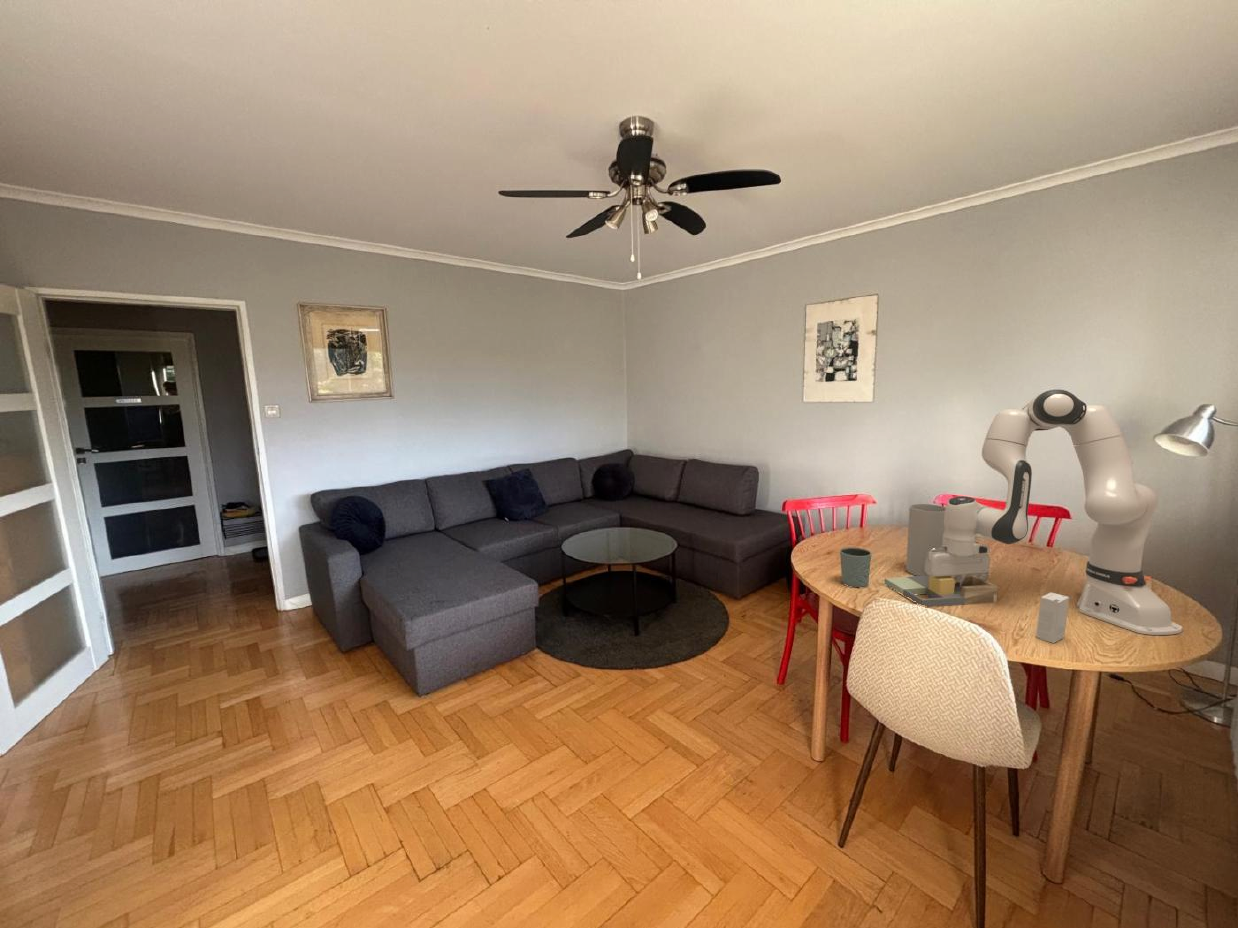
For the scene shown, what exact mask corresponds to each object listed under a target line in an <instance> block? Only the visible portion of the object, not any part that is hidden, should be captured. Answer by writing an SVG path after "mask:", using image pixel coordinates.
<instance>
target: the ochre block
mask: <svg viewBox="0 0 1238 928" xmlns="http://www.w3.org/2000/svg"><path fill="white" fill-rule="evenodd" d="M954 585H955V579H953V578H951V577H949V576H938V577H932V576H930V575H929V590H931V591H933V592H935V593H937V594H938V595H948V594H954Z"/></svg>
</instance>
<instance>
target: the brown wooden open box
mask: <svg viewBox="0 0 1238 928" xmlns="http://www.w3.org/2000/svg"><path fill="white" fill-rule="evenodd" d="M957 577H958V576H957V575H955V578H954V579H955V581H956V579H957ZM971 584H972V585H974V586H963V587H962V593H961V596H963V597H965V601H966V600H967V599H969V598H970V599H971V600H967V601H966V602H967V604H966V602H965V604H964V605H972V604H973V603H974V604H975V605H977V604H987V603H988V604H989V603H997V598H998V585H996V584H994V583H991V582H989V581H988V580H985V579H983V578H980V577H978V576H976V575H975V574H967V575H966V577H965V579H964V580H963V582H962V584H961V585H971ZM979 596H980V597H979ZM984 596H985V597H984ZM988 596H989V597H988ZM991 596H992V597H991ZM974 597H975V598H974ZM977 598H978V599H979V600H978V599H977ZM982 598H983V600H982ZM985 598H986V599H987V598H989V600H988V599H987V600H988V601H989V602H988V601H987V600H985ZM995 598H996V599H995ZM974 599H976V600H975V601H976V602H973V601H974ZM980 599H981V601H982V602H981V601H980ZM990 599H991V600H990ZM993 599H994V600H993ZM972 600H973V601H972ZM992 600H993V601H992ZM985 602H986V603H985Z"/></svg>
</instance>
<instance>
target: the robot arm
mask: <svg viewBox="0 0 1238 928" xmlns="http://www.w3.org/2000/svg"><path fill="white" fill-rule="evenodd" d="M1058 427H1059V428H1062V429H1063V430H1064V431H1066V432H1067V433H1068V435H1069V436H1070V438H1071V441H1072V445H1073V448H1074V450H1075V453H1076V456H1077V459H1078V461H1079V464H1080V466H1081V471H1082V475H1083V485H1084V486H1083V487H1084V493H1085V501H1084V511H1085V513H1086V515H1087V516H1088V517H1089V518H1090V519H1091V520H1093V521H1094V522H1097V526H1096V529H1095V531H1094V533H1093V534H1092V536H1091V538H1090V547H1089V558H1088V560H1087V562H1086V566H1085V574H1086V578H1085V583H1084V586H1083V588H1082V589H1083V590H1082V592H1081V595H1080V597H1079V598H1078V601H1077V602H1076V606H1077V607H1078V613H1081V614H1084V615H1087V616H1088V617H1089V616H1090V617H1091V618H1094V619H1098V620H1100V621H1103V622H1106V623H1109V624H1112V625H1113V626H1117V627H1120V628H1122V629H1126V630H1128V631H1132V632H1134V633H1138V634H1142V635H1152V636H1166V635H1177V634H1180V633H1182V632H1183V626H1182V625H1180V624H1178V623H1176V622H1174V621H1172V612H1171V608H1170V607H1169V605H1168V604H1167V603H1166V602H1165V601H1164V600H1163V599H1162V598H1160V597H1159V595H1157V594H1156V593H1155V592H1154V591H1153V590H1152V589H1151V588H1150V587H1149V586H1148V585H1147V582H1148V581H1151V578H1152V576H1145V574H1144V573H1143V570H1142V569H1141V568H1142V561H1143V554H1144V546H1145V543H1146V539H1147V536H1148V534H1149V531H1150V528H1151V525H1152V520H1153V517H1154V513H1155V510H1156V508H1157V506H1158V504H1159V502H1158V501H1159V498H1158V496H1157V493H1156V492H1155V491H1154V490H1153V489H1152V488H1150V487H1149V486H1147V485H1144V484H1140V483H1136V482H1134V477H1133V458H1132V456H1131V452H1130V450H1129V447H1128V446H1127V443H1126V440H1125V437H1124V435H1123V433H1122V430H1121V428H1120V426H1119V425H1118V422H1117V420H1116V419H1115V417H1114V415H1113V414H1112V413H1111V412H1110V410H1109V409H1108V408H1107V407H1106V406H1104V405H1100V404H1088V405H1087V404H1086V403H1085V402H1084V401H1083V400H1081V399H1079V398H1078V397H1077V396H1076V395H1074V394H1073V393H1072V392H1070V391H1068V390H1066V389H1065V390H1064V389H1049V390H1047V391H1044V392H1042V393H1040V394H1038V395H1036V396H1035V397H1034V398H1032V399H1031V400H1030V401H1029V403H1027V404H1026V405H1025V406H1024V407H1023V408H1022V409H1015V408H1007V409H1003V410H1001V411H999V412H997V414H995V416H994V418H993V420H992V422H991V424H990V426H989V428H988V431H987V433H986V435H985V438H984V441H983V444H982V449H981V457H982V459H983V461H984V462H985V464H986V465H988V466H989V467H990V468H991V469H993V471H996V472H998V473H1000V474H1001V475H1002V476H1004V478H1005V479H1006V481H1007V494H1006V501H1005V502H1006V503H1005V508H1004V509H1000V508H995V507H993V506H992V507H991V506H989V505H988V506H987V505H985V504H981V503H979V502H977V500H976V499H975V498H973V497H971V496H966V495H965V496H963V495H962V496H954V497H952V498H950V499H948V501H947V502H946V505H945V507H946V508H945V513H944V527H945V530H944V533H943V539H942V548H932V550H930V551H929V552H928V554H927V559H926V563H925V572H926V573H927V574H928V575H930V576H932V577H938V576H949V577H951V578H953V579H954V578H955V575H957V576H958V577H957V579H956V581H955V585H954V588H956V587H961V584H962V582H963V580H964V579H965V577H966V575H968V574H972V575H977V574H988V572H989V570H990V563H991V562H990V561H991V558H990V555H989V553H990V551H991V547H989V546H987V545H985V544H983V543H980V542H979V541H978V542H977V541H976V540H977V539H976V535H980V536H983V537H986V538H989V539H993V540H994V541H997V542H1000V543H1003V544H1005V545H1012V544H1013V545H1014V544H1016V543H1019V541H1022V540H1023V539H1025V538H1026V536H1027V534H1028V532H1029V521H1028V511H1029V504H1030V496H1031V495H1030V494H1031V488H1032V473H1033V471H1032V467H1031V464H1030V463H1028V462H1027V458H1026V457H1027V456H1026V455H1027V454H1026V452H1027V448H1028V444H1029V441H1030V437H1031V436H1032V434H1033V433H1034V432H1037V431H1048V430H1049V431H1050V430H1052V429H1055V428H1058Z"/></svg>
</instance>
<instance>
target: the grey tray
mask: <svg viewBox="0 0 1238 928" xmlns="http://www.w3.org/2000/svg"><path fill="white" fill-rule="evenodd" d="M884 584H886V585H887V586H889V587H890V588H889V587H888V588H889V589H891V588H892V589H895V590H897V591H898V592H900V593H902V594H903V595H904V596H906V597H909V598H911V599H912V600H913V601H916V602H915V603H918V604H921V605H925V606H927V607H926V608H934V607H933V606H937V608H938V607H949V606H961V605H962V606H963V605H968V604H967V602H966V601H967V600H971V599H970V598H969V599H967V600H966V601H965V597H963V596H961V593H962V587H963V586H974V585H972V584H971V585H961V587H956V588H954V594H948V595H938V594H937V593H935V592H933V591H931V590H929V575H926V576H916V575H913V576H911V575H910V576H902V577H886V578H884ZM886 585H885V586H886ZM887 586H886V587H887ZM892 589H891V590H892ZM915 594H926V596H927V595H928V597H929V598H922V597H920V595H915ZM904 596H903V597H904ZM931 597H932V598H931ZM979 597H980V596H979ZM984 597H985V596H984ZM988 597H989V596H988ZM991 597H992V596H991ZM974 598H975V597H974ZM977 599H978V598H977ZM987 599H988V600H989V598H987ZM987 599H986V598H985V600H987ZM995 599H996V598H995ZM975 600H976V599H974V601H973V600H972V601H973V602H976V601H975ZM978 600H979V599H978ZM982 600H983V598H982ZM988 600H987V601H988ZM990 600H991V599H990ZM993 600H994V599H993ZM993 600H992V601H993ZM996 600H997V599H996ZM980 601H981V599H980ZM965 602H966V604H965ZM981 602H982V601H981ZM988 602H989V601H988ZM915 603H914V604H915ZM973 604H974V603H973ZM984 604H987V603H986V602H985V603H984Z"/></svg>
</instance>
